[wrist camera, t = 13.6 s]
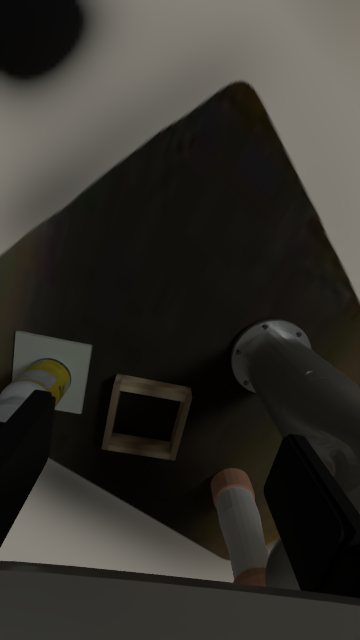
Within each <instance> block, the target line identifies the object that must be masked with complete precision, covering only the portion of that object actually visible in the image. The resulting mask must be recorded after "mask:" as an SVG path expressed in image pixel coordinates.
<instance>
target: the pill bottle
mask: <svg viewBox="0 0 360 640" xmlns="http://www.w3.org/2000/svg"><path fill="white" fill-rule="evenodd" d="M71 380H72V377H71V372H70V370H69V368H68V367H67V366H66V365H65V364H64V363H63V362H62V361H60V360H58V359H55V358H42V359H39V360H37V361H36V362H34V363H33V364H32V365H31V366H30V367H29V368H27V369H26V370H25V371H24V372H23V373H22V374H21V375H20V376H18V377H17V378H16V379H15V380H14V381H13V382H12V383H10V384H9V385H8V386H7V387H6V388H5V389H4V390H3V391H2V392H1V394H0V422H6V421H7V420H8V419H9V418H10V417H11V416H12V414H13V413H14V412H15V411H16V410H17V409H18V408H19V407H20V405H21V404H22V403H23V402H24V401H25V400H26V399H27V398H28V396H29V395H30V394H31V393H32V392H33V391H34V390H35V389H37V390H43V391H49V392H51V393H52V396H54V397H56V402H55V407H56V406H57V404H58V403H59V401H60V400H61V399H62V397H63V396H64V394H65V393H66V391H67V390H68V388H69V387H70V384H71Z"/></svg>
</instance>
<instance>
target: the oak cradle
mask: <svg viewBox="0 0 360 640" xmlns="http://www.w3.org/2000/svg"><path fill="white" fill-rule="evenodd" d="M120 391H125V392H131V393H136V394H142V395H148V396H153V397H159V398H164V399H170V400H176V401H181V402H180V406H179V410H178V413H177V417H176V421H175V425H174V428H173V432H172V436H171V440H170V442H169V441H163V440H157V439H151V438H144V437H138V436H132V435H126V434H120V433H114V432H113V427H114V422H115V417H116V412H117V406H118V401H119V396H120ZM191 400H192V393H191V387H186V386H180V385H175V384H169V383H164V382H159V381H153V380H148V379H143V378H137V377H132V376H126V375H121V374H117V376H116V379H115V382H114V385H113V390H112V396H111V401H110V407H109V412H108V417H107V423H106V428H105V433H104V439H103V444H102V449H103V450H110V451H116V452H123V453H129V454H136V455H142V456H149V457H155V458H161V459H168V460H174V461H175V458H176V454H177V451H178V447H179V444H180V440H181V436H182V433H183V429H184V426H185V422H186V418H187V415H188V411H189V408H190V404H191Z"/></svg>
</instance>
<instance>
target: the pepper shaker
mask: <svg viewBox="0 0 360 640" xmlns="http://www.w3.org/2000/svg"><path fill="white" fill-rule="evenodd" d="M211 490H212V496H213V501H214V505H215V508H216V509H217V511H218V518H219V524H220V527H221V530H222V533H223V536H224V539H225V542H226V545H227V548H228V551H229V556H230V560H231V565H232V570H233V575H234V582H233V583H239V584H248V585H257V586H265V587H266V581H265V573H266V565H267V561H268V557H269V554H268V551H267V548H266V545H265V542H264V536H263V531H262V525H261V520H260V515H259V512H258V509H257V506H256V504H255V495H254V491H253V488H252V485H251V482H250V480H249V477H248V475H247V474H246V473H245V472H244V471H242V470H240V469H237V468H228V469H224V470H222V471H220V472H218V473H217V474H216V475H215V476H214V477H213V479H212V481H211Z"/></svg>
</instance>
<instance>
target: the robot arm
mask: <svg viewBox="0 0 360 640" xmlns="http://www.w3.org/2000/svg"><path fill="white" fill-rule="evenodd" d="M263 325H264V327H262V326H263ZM296 333H297V334H296ZM237 350H238V351H237ZM236 351H237V352H236ZM231 367H232V371H233V373H234V375H235V377H236V379H237V380H238V382H239V383H240V384H241V385H242V386H243V387H245V388H246V389H248V390H249V391H252V392H254V393H257V395H258V397H259V398H260V400H261V402H262V404H263V405H264V407H265V409H266V410H267V412H268V414H269V415H270V417H271V419H272V421H273V422H274V424H275V426H276V427H277V429H278V431H279V432H280V434H281V436H282V438H283V440H282V443H281V445H280V448H279V450H278V453H277V455H276V458H275V460H274V463H273V465H272V468H271V470H270V473H269V475H268V478H267V480H266V483H265V485H264V496H265V498H266V501H267V504H268V506H269V509H270V512H271V514H272V517H273V519H274V522H275V525H276V527H277V530H278V532H279V535H280V539H279V540H278V541H277V543H276V544H275V545H274V547H273V549H272V550H271V553H270V555H269V557H268V561H267V565H266V573H265V581H266V587H265V586H257V585H248V584H239V583H229V582H220V581H211V580H201V579H192V578H182V577H174V576H165V575H154V574H144V573H136V572H126V571H115V570H106V569H95V568H86V567H76V566H64V565H52V564H40V563H26V562H15V561H0V640H360V386H358V385H357V384H356V383H354V382H353V381H352V380H350V379H349V378H348V377H346V376H345V375H344V374H342V373H341V372H340V371H338V370H337V369H336V368H334V367H333V366H332V365H331V363H329V362H326V361H325V360H324V359H322V358H321V357H320V356H318V355H317V354H316V353H314V352H313V351H312V350H311V345H310V342H309V340H308V337H307V336H306V335H305V333H304V332H303V331H302V330H301V329H300V328H299V327H297V326H296V325H294V324H293V323H290V322H288V321H285V320H281V319H268V320H263V321H260V322H257V323H255V324H253V325H251V326H249V327H248V328H247V329H246V330H244V331H243V332H242V333H241V335H240V336H239V337H238V338H237V340H236V342H235V343H234V346H233V348H232V352H231ZM55 402H56V397H54V396H52V393H51V392H49V391H43V390H37V389H35V390H34V391H33V392H32V393H31V394H30V395H29V396H28V398H27V399H26V400H25V401H24V402H23V403H22V404H21V405H20V407H19V408H18V409H17V410H16V411H15V412H14V413H13V414H12V416H11V417H10V418H9V419H8V420H7V421H6V422H0V547H1V545H2V543H3V541H4V540H5V538H6V536H7V534H8V532H9V530H10V529H11V527H12V525H13V523H14V521H15V519H16V518H17V516H18V514H19V512H20V510H21V508H22V507H23V505H24V503H25V501H26V499H27V497H28V495H29V494H30V492H31V490H32V488H33V486H34V484H35V483H36V481H37V479H38V477H39V475H40V473H41V472H42V470H43V468H44V466H45V464H46V462H47V459H48V456H49V450H50V442H51V434H52V426H53V418H54V410H55Z"/></svg>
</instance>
